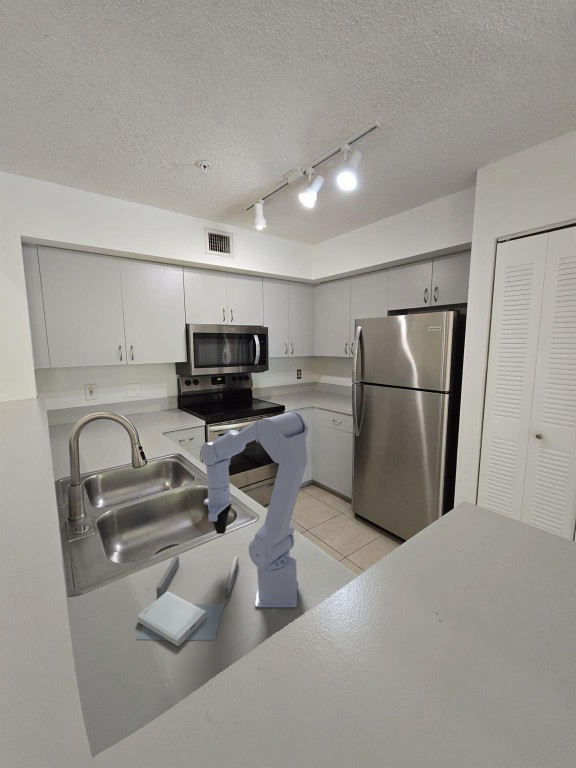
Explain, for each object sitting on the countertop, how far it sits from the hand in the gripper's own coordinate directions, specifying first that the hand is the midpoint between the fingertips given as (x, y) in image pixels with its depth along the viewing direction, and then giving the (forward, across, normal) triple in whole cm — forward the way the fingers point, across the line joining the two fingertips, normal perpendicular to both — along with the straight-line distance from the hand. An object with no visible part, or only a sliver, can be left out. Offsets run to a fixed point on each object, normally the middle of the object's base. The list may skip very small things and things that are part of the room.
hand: (221, 532), depth 88 cm
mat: (+8, +20, -4) cm, 22 cm away
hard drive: (+9, +19, -6) cm, 22 cm away
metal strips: (+8, +7, -4) cm, 12 cm away
